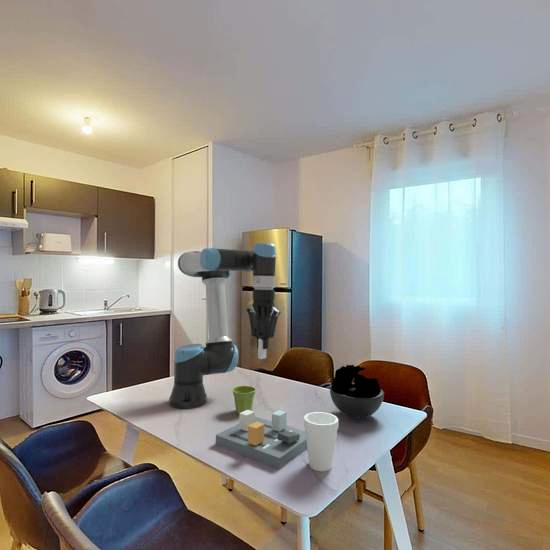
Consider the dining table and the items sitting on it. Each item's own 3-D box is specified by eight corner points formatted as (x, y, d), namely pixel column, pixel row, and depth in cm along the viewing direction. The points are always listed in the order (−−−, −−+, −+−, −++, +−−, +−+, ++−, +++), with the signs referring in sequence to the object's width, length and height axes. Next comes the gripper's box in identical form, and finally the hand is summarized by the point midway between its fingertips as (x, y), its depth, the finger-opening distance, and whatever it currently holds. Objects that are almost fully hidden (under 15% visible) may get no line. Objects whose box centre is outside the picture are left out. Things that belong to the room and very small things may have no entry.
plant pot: (236, 417, 132) (237, 394, 132) (228, 409, 141) (228, 387, 141) (259, 413, 137) (260, 391, 137) (250, 406, 145) (250, 384, 145)
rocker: (277, 439, 105) (277, 433, 105) (287, 436, 109) (288, 430, 110) (288, 442, 102) (289, 437, 103) (299, 440, 107) (299, 434, 107)
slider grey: (271, 429, 114) (271, 413, 114) (278, 425, 118) (278, 410, 118) (279, 431, 113) (279, 415, 113) (286, 427, 116) (286, 412, 116)
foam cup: (301, 457, 103) (301, 412, 104) (332, 456, 104) (333, 411, 104) (306, 475, 94) (307, 425, 94) (341, 474, 95) (341, 424, 95)
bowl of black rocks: (348, 403, 149) (349, 358, 150) (393, 417, 135) (393, 367, 136) (318, 416, 135) (319, 366, 136) (365, 432, 121) (366, 376, 121)
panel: (215, 444, 111) (215, 432, 111) (253, 424, 126) (254, 414, 126) (279, 469, 97) (279, 455, 97) (313, 443, 112) (313, 431, 112)
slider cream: (239, 428, 114) (239, 413, 114) (247, 424, 118) (247, 409, 118) (246, 431, 113) (246, 415, 113) (254, 427, 116) (254, 411, 116)
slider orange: (247, 442, 105) (248, 425, 105) (256, 438, 108) (256, 421, 108) (255, 445, 103) (256, 428, 103) (264, 440, 106) (264, 423, 106)
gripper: (241, 288, 122) (240, 357, 122) (272, 289, 114) (271, 363, 114) (255, 287, 128) (254, 353, 128) (285, 289, 121) (284, 359, 121)
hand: (262, 358), depth 121 cm, fingers closed
